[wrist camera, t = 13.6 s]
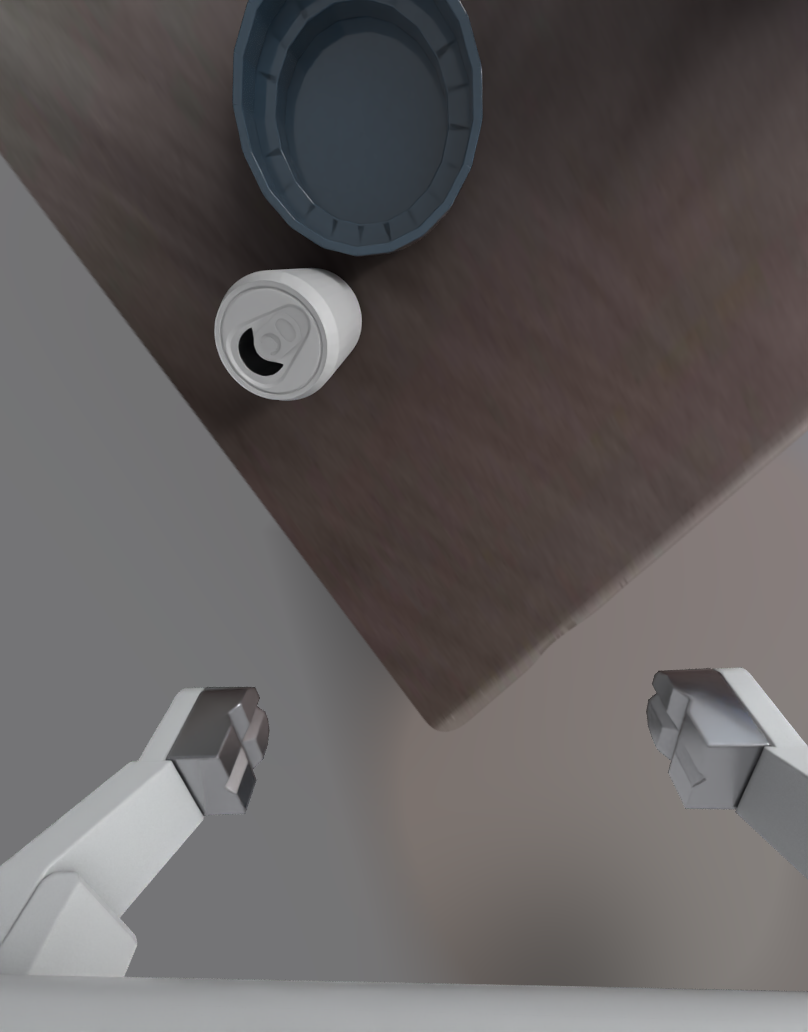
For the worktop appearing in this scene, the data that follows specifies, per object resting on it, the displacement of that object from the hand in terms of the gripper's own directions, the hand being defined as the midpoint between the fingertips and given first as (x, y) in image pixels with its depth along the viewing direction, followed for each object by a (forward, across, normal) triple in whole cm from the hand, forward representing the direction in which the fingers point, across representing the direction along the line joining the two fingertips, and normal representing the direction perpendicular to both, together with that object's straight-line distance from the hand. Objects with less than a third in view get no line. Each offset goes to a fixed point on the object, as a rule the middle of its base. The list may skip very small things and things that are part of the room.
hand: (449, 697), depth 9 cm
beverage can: (+29, +8, -5) cm, 31 cm away
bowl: (+29, +3, -15) cm, 33 cm away
